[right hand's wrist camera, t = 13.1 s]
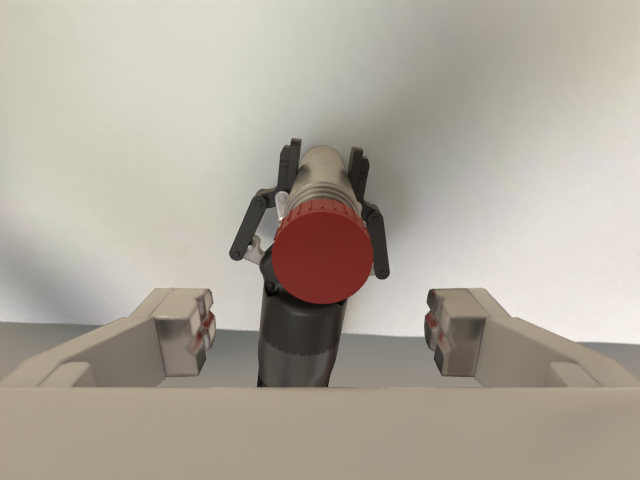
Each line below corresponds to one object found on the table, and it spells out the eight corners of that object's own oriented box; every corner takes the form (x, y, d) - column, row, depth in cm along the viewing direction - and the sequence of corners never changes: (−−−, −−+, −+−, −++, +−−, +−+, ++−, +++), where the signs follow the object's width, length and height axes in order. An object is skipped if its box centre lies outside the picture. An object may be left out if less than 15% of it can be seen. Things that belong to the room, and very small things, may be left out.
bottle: (316, 137, 32) (308, 185, 13) (351, 161, 33) (394, 244, 13) (292, 172, 34) (252, 267, 14) (327, 195, 34) (334, 316, 15)
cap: (309, 178, 14) (308, 188, 12) (387, 231, 15) (396, 248, 13) (258, 252, 15) (250, 272, 13) (333, 298, 16) (334, 321, 14)
